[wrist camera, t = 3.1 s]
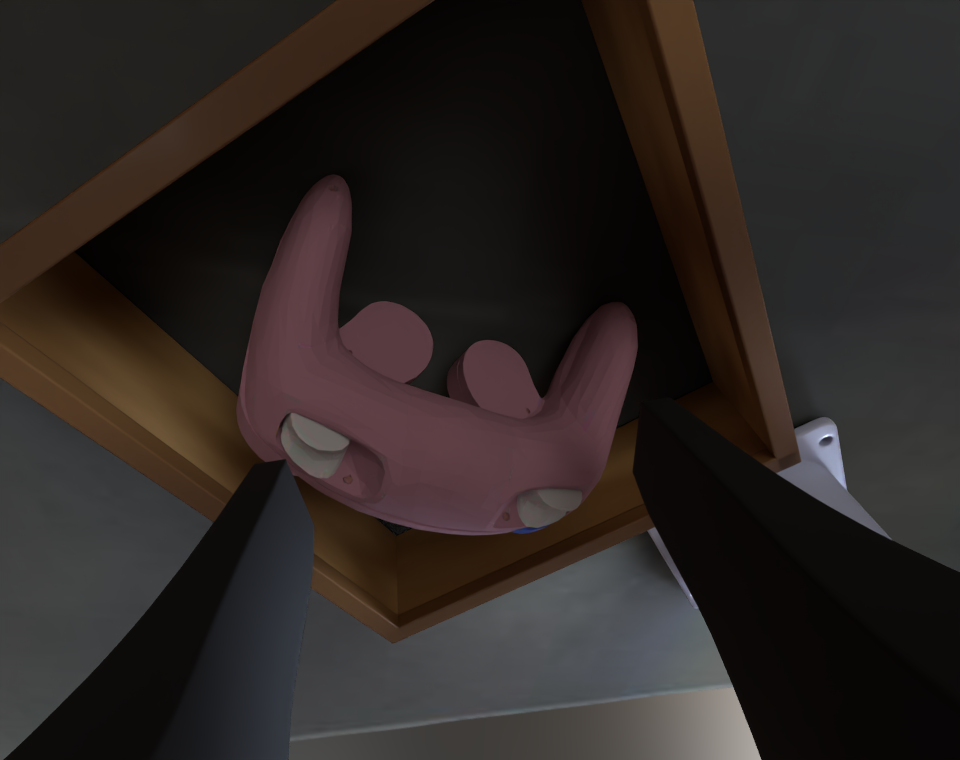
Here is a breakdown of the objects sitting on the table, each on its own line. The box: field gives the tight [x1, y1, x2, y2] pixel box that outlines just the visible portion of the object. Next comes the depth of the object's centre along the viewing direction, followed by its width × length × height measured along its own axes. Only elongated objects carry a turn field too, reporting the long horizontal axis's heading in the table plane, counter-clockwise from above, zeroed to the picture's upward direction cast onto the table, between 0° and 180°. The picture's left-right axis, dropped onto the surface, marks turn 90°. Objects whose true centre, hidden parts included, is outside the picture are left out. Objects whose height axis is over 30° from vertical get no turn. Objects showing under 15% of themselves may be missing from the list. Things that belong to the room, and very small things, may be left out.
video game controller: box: [236, 174, 638, 535], centre depth 14 cm, size 10×5×7 cm, turn 63°
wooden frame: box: [0, 0, 801, 643], centre depth 14 cm, size 15×14×4 cm
